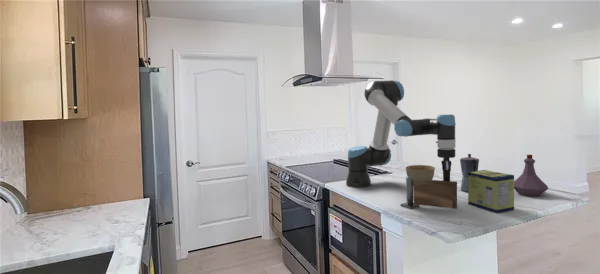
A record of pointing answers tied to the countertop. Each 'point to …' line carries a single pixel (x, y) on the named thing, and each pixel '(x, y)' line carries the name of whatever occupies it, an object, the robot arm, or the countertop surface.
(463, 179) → the moka pot
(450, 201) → the gate
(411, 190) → the gate post
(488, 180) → the protein box
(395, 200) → the countertop surface
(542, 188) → the flask
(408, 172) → the planter bowl
